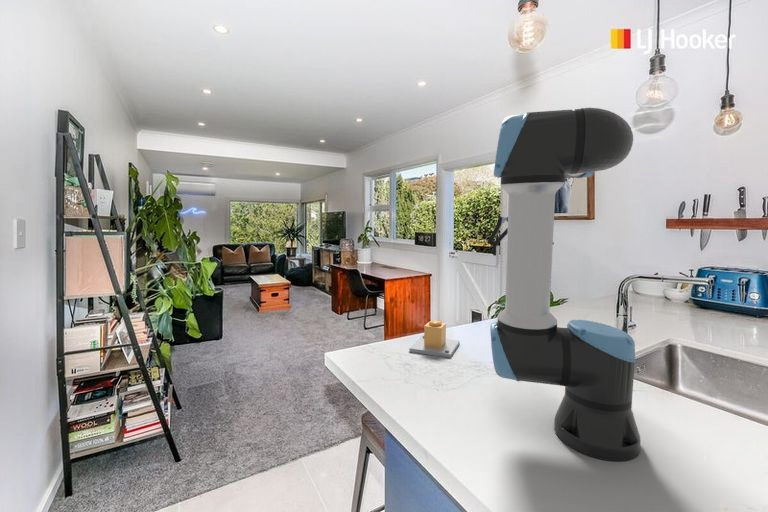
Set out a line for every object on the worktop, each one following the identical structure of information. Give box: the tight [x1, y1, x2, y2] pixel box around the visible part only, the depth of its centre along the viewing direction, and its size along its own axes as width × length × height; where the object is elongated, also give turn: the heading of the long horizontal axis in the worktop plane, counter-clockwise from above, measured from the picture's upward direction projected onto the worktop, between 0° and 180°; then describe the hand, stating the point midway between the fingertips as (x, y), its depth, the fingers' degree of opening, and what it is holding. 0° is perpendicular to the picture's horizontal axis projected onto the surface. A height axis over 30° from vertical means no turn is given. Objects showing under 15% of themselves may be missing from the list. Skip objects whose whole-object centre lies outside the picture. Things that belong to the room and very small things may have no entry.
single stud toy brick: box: [423, 320, 447, 348], centre depth 125 cm, size 6×6×8 cm
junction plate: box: [408, 335, 461, 359], centre depth 125 cm, size 14×14×6 cm
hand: (518, 266), depth 119 cm, fingers open, 13 cm apart
